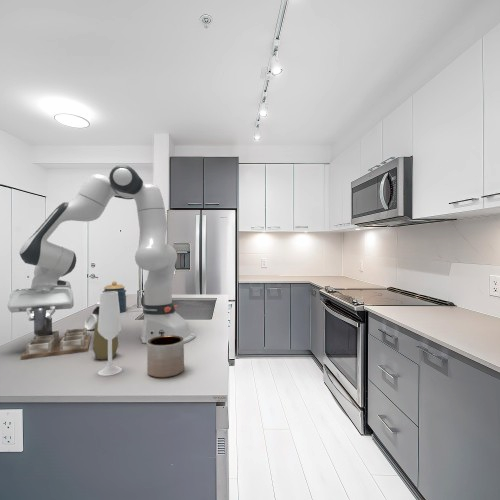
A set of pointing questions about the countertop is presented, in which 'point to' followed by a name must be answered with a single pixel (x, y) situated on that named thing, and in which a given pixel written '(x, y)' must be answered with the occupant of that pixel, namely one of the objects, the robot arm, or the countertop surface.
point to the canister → (121, 294)
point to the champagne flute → (109, 326)
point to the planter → (165, 356)
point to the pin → (39, 320)
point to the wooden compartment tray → (57, 343)
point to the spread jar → (92, 318)
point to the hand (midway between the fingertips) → (39, 319)
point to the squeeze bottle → (103, 345)
